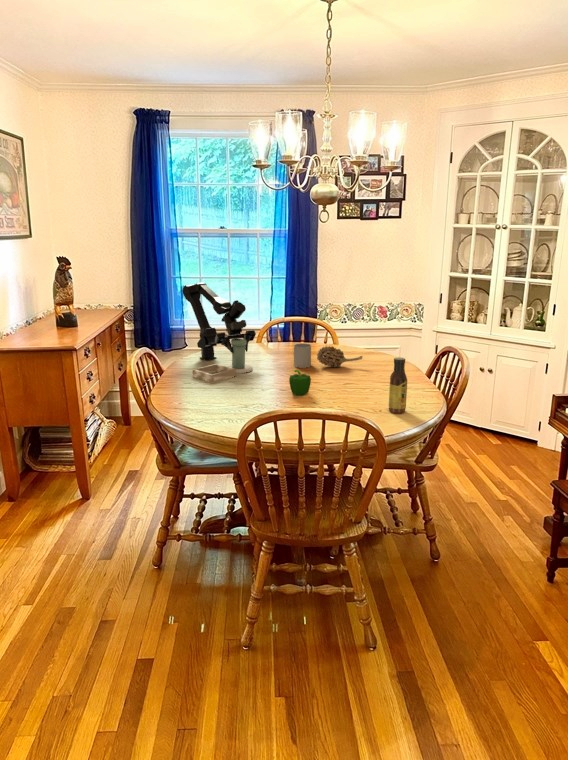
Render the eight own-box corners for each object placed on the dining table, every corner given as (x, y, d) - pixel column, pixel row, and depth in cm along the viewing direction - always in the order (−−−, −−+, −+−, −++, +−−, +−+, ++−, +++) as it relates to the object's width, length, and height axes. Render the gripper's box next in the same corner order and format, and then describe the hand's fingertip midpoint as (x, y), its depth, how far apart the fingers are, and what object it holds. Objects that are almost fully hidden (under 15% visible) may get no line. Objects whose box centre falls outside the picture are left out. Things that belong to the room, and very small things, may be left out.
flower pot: (227, 367, 262) (228, 339, 259) (239, 364, 267) (239, 338, 264) (237, 370, 258) (238, 342, 254) (248, 367, 263) (249, 340, 259)
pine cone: (316, 369, 263) (316, 348, 260) (317, 364, 272) (317, 344, 270) (363, 370, 261) (364, 349, 258) (362, 364, 270) (363, 344, 268)
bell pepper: (314, 395, 225) (314, 371, 222) (296, 398, 221) (296, 374, 218) (303, 390, 232) (303, 366, 229) (286, 393, 228) (286, 369, 225)
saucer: (221, 370, 263) (221, 368, 263) (240, 365, 271) (240, 363, 271) (238, 375, 255) (238, 372, 255) (257, 370, 263) (257, 367, 263)
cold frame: (192, 377, 253) (192, 369, 252) (216, 370, 262) (216, 363, 261) (212, 382, 243) (211, 375, 242) (236, 376, 253) (236, 368, 252)
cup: (313, 366, 268) (314, 346, 265) (298, 368, 265) (297, 348, 262) (306, 362, 275) (306, 342, 272) (291, 364, 272) (291, 344, 270)
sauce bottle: (404, 415, 202) (406, 361, 196) (386, 413, 204) (389, 360, 198) (407, 409, 208) (410, 357, 202) (390, 407, 210) (392, 355, 204)
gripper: (215, 315, 256) (224, 344, 249) (254, 312, 263) (263, 340, 256) (211, 329, 265) (219, 357, 258) (248, 326, 272) (257, 353, 265)
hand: (239, 352), depth 259 cm, fingers closed on flower pot, 6 cm apart
